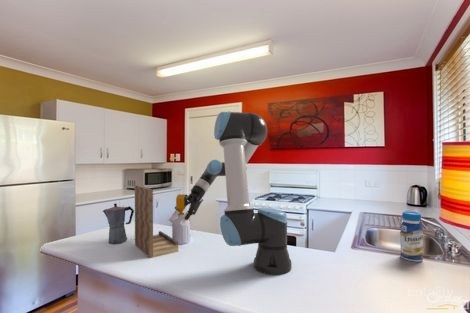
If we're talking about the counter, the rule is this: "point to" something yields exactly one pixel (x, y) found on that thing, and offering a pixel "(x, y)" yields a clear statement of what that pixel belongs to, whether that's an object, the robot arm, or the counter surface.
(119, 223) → the moka pot
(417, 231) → the beverage bottle
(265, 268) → the robot arm
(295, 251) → the counter surface
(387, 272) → the counter surface
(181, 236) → the soap bottle
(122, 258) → the counter surface
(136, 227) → the cleat shelf
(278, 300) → the counter surface
